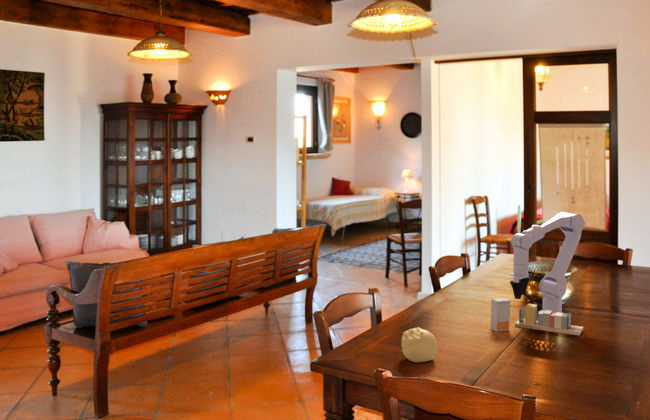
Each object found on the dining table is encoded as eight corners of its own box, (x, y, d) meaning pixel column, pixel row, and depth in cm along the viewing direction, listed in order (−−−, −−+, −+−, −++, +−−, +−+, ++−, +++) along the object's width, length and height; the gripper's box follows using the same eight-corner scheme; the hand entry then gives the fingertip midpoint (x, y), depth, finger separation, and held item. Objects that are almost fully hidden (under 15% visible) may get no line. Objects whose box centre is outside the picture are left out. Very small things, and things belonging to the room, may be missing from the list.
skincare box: (496, 332, 242) (496, 301, 241) (490, 328, 246) (490, 298, 245) (510, 330, 244) (510, 300, 242) (504, 327, 248) (504, 297, 247)
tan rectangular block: (527, 320, 253) (528, 303, 252) (536, 321, 251) (537, 304, 250) (524, 323, 249) (525, 306, 248) (534, 324, 247) (534, 307, 246)
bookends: (522, 319, 254) (522, 306, 253) (570, 326, 245) (571, 312, 244) (519, 322, 250) (519, 309, 249) (568, 329, 240) (568, 315, 240)
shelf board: (519, 321, 256) (519, 318, 256) (583, 329, 244) (583, 326, 244) (514, 326, 249) (515, 323, 249) (579, 335, 237) (579, 332, 237)
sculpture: (398, 354, 219) (398, 323, 217) (432, 353, 219) (432, 323, 218) (404, 366, 207) (404, 334, 206) (440, 364, 208) (441, 333, 207)
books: (540, 322, 250) (540, 309, 250) (568, 326, 245) (569, 312, 244) (537, 325, 246) (537, 312, 245) (566, 329, 241) (567, 316, 240)
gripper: (515, 259, 261) (514, 291, 262) (506, 265, 248) (505, 299, 250) (532, 261, 257) (531, 293, 259) (524, 267, 245) (523, 301, 246)
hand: (520, 296), depth 254 cm, fingers open, 7 cm apart
